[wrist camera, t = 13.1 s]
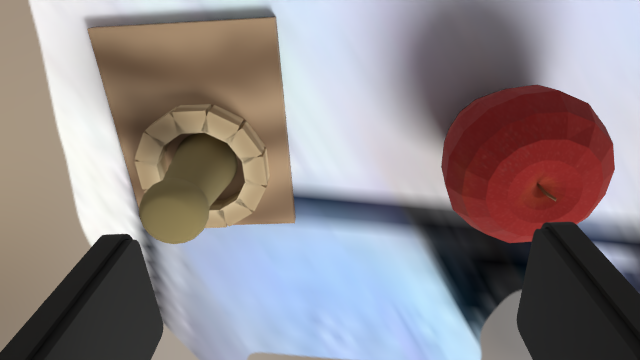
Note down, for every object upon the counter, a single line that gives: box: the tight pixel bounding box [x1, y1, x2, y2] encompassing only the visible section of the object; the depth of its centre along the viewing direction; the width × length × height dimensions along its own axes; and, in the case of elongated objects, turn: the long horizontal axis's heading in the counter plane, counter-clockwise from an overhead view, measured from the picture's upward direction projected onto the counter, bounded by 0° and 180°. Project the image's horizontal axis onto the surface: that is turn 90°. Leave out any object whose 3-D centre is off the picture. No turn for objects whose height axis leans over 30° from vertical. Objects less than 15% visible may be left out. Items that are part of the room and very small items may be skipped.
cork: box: [139, 133, 238, 244], centre depth 37 cm, size 6×6×11 cm
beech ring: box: [135, 104, 270, 228], centre depth 41 cm, size 12×12×2 cm
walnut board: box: [88, 17, 296, 225], centre depth 41 cm, size 20×16×1 cm
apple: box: [441, 85, 615, 243], centre depth 34 cm, size 12×12×13 cm
